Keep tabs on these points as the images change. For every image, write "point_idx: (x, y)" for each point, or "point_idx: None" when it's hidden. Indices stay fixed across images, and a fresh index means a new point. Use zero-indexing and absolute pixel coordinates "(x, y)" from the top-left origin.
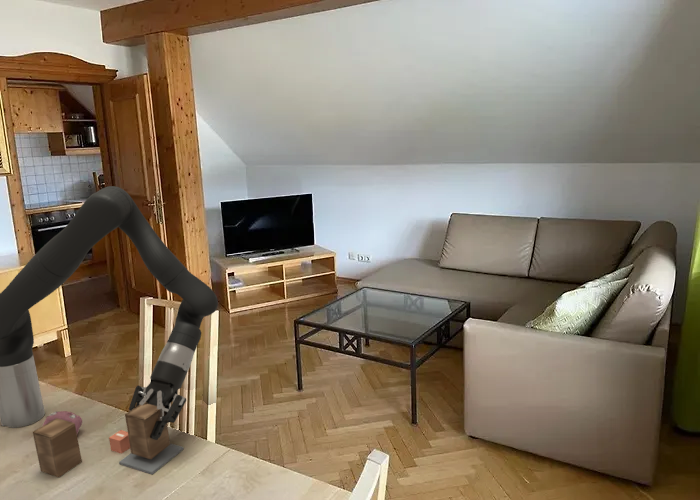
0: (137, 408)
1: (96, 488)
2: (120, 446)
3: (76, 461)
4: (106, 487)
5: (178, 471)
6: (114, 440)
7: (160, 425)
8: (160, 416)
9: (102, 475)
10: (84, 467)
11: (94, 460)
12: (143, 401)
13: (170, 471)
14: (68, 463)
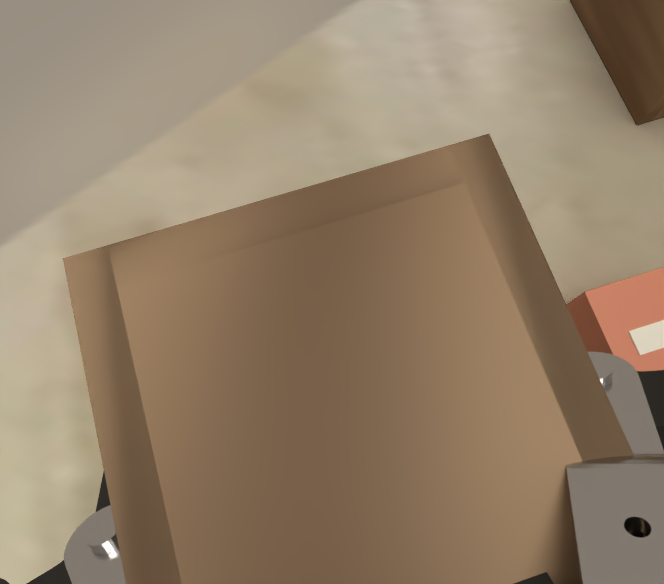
0: (519, 350)
1: (311, 85)
2: (567, 305)
3: (634, 80)
4: (275, 120)
5: (32, 478)
6: (636, 277)
7: (103, 500)
8: (108, 560)
9: (403, 148)
10: (566, 114)
11: (597, 177)
12: (641, 528)
13: (81, 440)
14: (620, 22)
